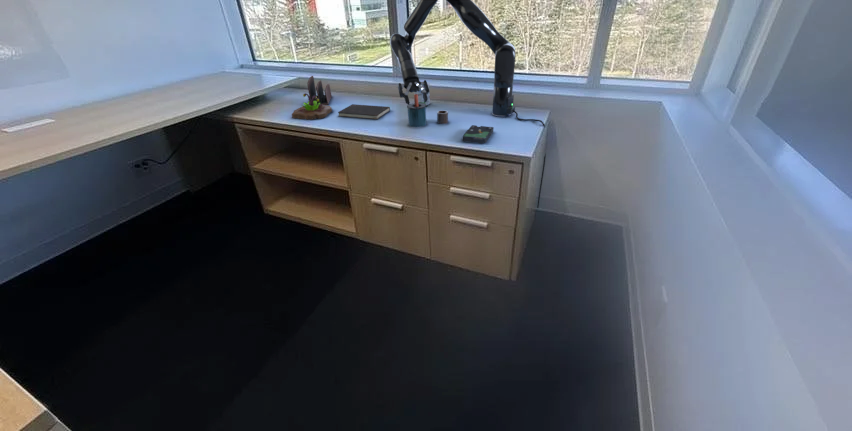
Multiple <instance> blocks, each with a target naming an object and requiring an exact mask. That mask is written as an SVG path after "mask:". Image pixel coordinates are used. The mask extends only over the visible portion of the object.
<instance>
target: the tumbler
mask: <svg viewBox="0 0 852 431" xmlns="http://www.w3.org/2000/svg"><path fill="white" fill-rule="evenodd" d="M419 106H420V105H419ZM413 107H415V106H413ZM407 118H408V119H407V120H408V126H409V127H411V128H422V127H425V126H426V125H427V106H426V107H425V108H423V109H409V108H407Z"/></svg>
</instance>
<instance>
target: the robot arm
mask: <svg viewBox="0 0 852 431" xmlns="http://www.w3.org/2000/svg"><path fill="white" fill-rule="evenodd" d="M438 1H439V0H419V2H418V3H417V5H416V6H415V8H414V9H413V11H411V13H410V15H409V16H408V17H407V19H406V21H405V22H404V24H403V27H402V28H403V30H404V31H405V35H403V34H401V33H399V32H395V33H393V34H391V36H390V39H389V43H390V47H391V50H392V51H393V53H394V55H395V57H396V58H397V62H398V66H399V71H400V75H401V78H402V79H401V80H402V83H401V82H399V83H397V84H398V85H397V90H398V94H399V97H400V98H404V101H405V104H406V105H409V104H411V103H410V99H409V93H414V92H417V91H418V92H419V93H421V94H422V95H423V98H424V102H426V101H427V99H428V98H427V94H428V93H429V90H430V86H429V87H428V84H427V83H428V82H427V81H428V80H426V79H424V80H423V81H421V80H420V78H419V77H420V76H419V74H418V70H417V68H416V64H415V62H414V58H413V56H412V53H411V52H410V50H411V48H412V46H413V43H414V41H415V38H416V35H417V33H418V32H419V31H420V29H421V28H422V26H424V23H425V22H426V20H427V18H428V17H429V15H430V12H431V11H432V10H433V8H434V6H436V4H437V3H438ZM445 1H446V2H447V3H448V4H449V5H450V6H451V7H452V9H453V10H454V12H455V13H456V15H457V17H458V18H459V20H460V21H461V22H462V23H463V25H464V26H465V27H466V28H467V30H469V31H470V33H472V34H473V35H474V36H475V37H477V38H478V39H479V40H481V41H482V42H483V43H485V44H486V45H487V46H488V48H489V49H490V50H491V51H492V53H493V54H494V71H493V72H494V74H493V96H492V109H491V110H492V111H491V112H492V113H491V114H492V116H494V117H498V118H508V117H510V116H511V115H513V114H514V113H515V114H516V115H515V118H516V120H517V121H529V122H530V121H533V122H540V123H541V125H542V126H543V127H546V124H545V123H544V122H543V120H541V119H535V118H519V117H518V112H517V111H516V106H514V98H515V97H514V96H515V95H514V94H513V90H514V79H515V68H516V53H517V52H516V48H515V46H514V45H513V44H512V43H511V42H509V40H507V39H506V38H505V37H504V36H503V35H502V34H501V33H500V32H499V31H498V30H497V29H496V27H495V26H494V24H493V23H492V21H491V20H490V19H489V18H488V17H487V15H486V14H485V12H484V11H483V10H481V8H480V7H479V6H478V5H477V4H476V3H475V2H474V1H473V0H445ZM421 85H422V86H423V87H424V89H425V90H424V89H423V87H421ZM403 88H404V89H405V91H404V92H403ZM546 157H547V152H545V153H544V157H543V164H542V171H541V178H540V185H539V192H538V197H537V204H536V205H537V206H536V208H537V209H539V207H540V199H541V193H542V192H541V191H542V185H543V181H544V180H543V179H544V173H545V167H546V166H545V165H546Z"/></svg>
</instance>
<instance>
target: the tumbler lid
mask: <svg viewBox="0 0 852 431" xmlns="http://www.w3.org/2000/svg"><path fill="white" fill-rule="evenodd" d="M418 105H420V106H419V107H413V106H415V102H413V103H409V105H408V104H406V108H407V109H408V108H409V109H423V108H425V107H426V108H427V105H426V104H424V103H418Z"/></svg>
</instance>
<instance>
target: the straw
mask: <svg viewBox="0 0 852 431" xmlns="http://www.w3.org/2000/svg"><path fill="white" fill-rule="evenodd" d="M413 100H414V102H413V103H415V107H419V105H418V94H415V93H414V94H413Z"/></svg>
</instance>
